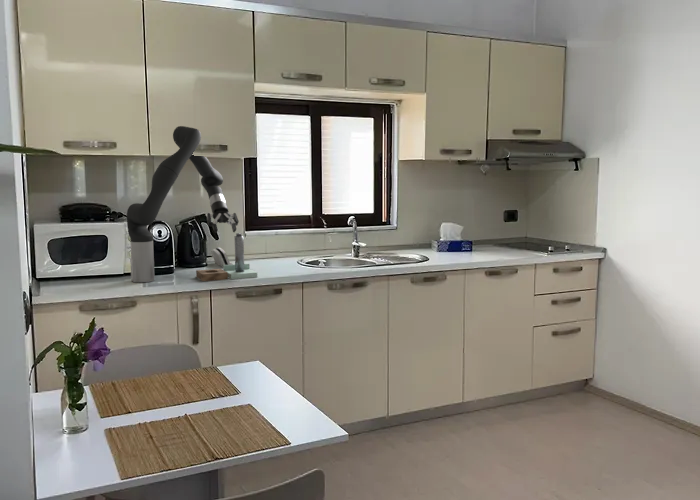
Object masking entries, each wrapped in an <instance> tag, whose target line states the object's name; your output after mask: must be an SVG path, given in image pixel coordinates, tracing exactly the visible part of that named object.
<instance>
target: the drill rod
mask: <svg viewBox="0 0 700 500" xmlns="http://www.w3.org/2000/svg"><path fill="white" fill-rule="evenodd" d="M244 240H245V239H244V235H243V233H242V232H238V233H236V232H235V236H234V264H235V272H244V264H245V247H244V245H245V244H244V243H245V242H244Z"/></svg>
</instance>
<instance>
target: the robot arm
mask: <svg viewBox="0 0 700 500" xmlns="http://www.w3.org/2000/svg"><path fill="white" fill-rule="evenodd" d="M172 139H173V141H174V143H175V144H176V146H177V147H178V148H179V149H178V150H177V151H175V153H173V154H171V155H170V156H168V157H166V158H165V159H164V160H162V161H161V162H160V163H159V165H158V166H157V168H156V169H155V171H154V173H153V175H152V178H151V189H150V192H149V195H148V196H147V198H146V199H145V200H144V202H143V203H137V202H136V203H135V202H134V203H132V204H131V205H129V206H128V207H127V210H126V223H127V224H126V225H127V226H126V227H127V234H128V237H129V239H130V280H131V282H133V283H148V282H149V283H151V282H154V281H155V279H156V277H155V258H154V257H155V256H154V252H155V251H154V235H153V233H152V232H150V231H149V229H148V226H150V225H152V224H153V223H154V222H155V221H156V218H157V216H158V215H159V212H160V211H161V210H160V209H161V207H162V205H163V203H164V201H165V199H166V197H167V195H168V194H169V192H170V191H171V189H172V187H173V186H174V184H175V182H176V180H177V178H178V177H179V175H180V174H181V172H182V170H183V169H184V167H185V165H186V163H187V162H188V160H189V161H190V162H192V164H193V165H194V167H195V169H196V171H197V172H198V175H200V177H201V178H200V184H201V185H202V187H203V188H204V190H205V191H206V193H207V195H208V199H209V205H210V209H211V213H212V214H211V213H209V212H208V213H207V214H206V221H207V222H206V223H207V227H212V229H213V232H214V233H215V234H217V233H218V226H217V225H218V223H219V224H222V223H223V224H228V225H230V226H231V229H232V233H236V231H237V226H239V219H238V216H237V213H236V212H233V213H231V214H230V212H229V209H228V204H227V200H226V199H225V195H224V193H223V189H222V188H221V185H222V184H223V183H224V178H223V175H222V174H221V172H219V170H217V169H216V168H214V167H213V166H212V163H211V161H210V160H209V159H208V157H207V156H206V157H204V156H194V155H192V154H193V152H194V151H195V150H196V148H197V149H198V147H199V145H200V143H201V140H202V132H201V131H200V130H199V129H197V128H194V127H189V126H184V125H180V126H176V127H175V129H174V130H173V133H172ZM212 219H214V221H212Z"/></svg>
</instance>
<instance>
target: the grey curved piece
mask: <svg viewBox="0 0 700 500" xmlns="http://www.w3.org/2000/svg"><path fill="white" fill-rule="evenodd" d="M210 253H211V254H212V258H213V261H214V263H215V264H216V265H218V266H219V267H222V268H223V265H233V264H234V263H232V262H230V260H229V257H228V255H227V252H226V251H225V250H224V249H223V248H221V247H215V248H213V249H212V250H211V252H210Z"/></svg>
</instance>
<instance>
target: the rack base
mask: <svg viewBox="0 0 700 500" xmlns="http://www.w3.org/2000/svg"><path fill="white" fill-rule="evenodd" d="M232 264H233V265H223V267H222V268H223V269H222V270H224V271H226V272H228V279H230V280H237V279H250V278H258V272H257V271H255V270H253V269H250V263H249V262H248V263H244V272H235V263H232Z"/></svg>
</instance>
